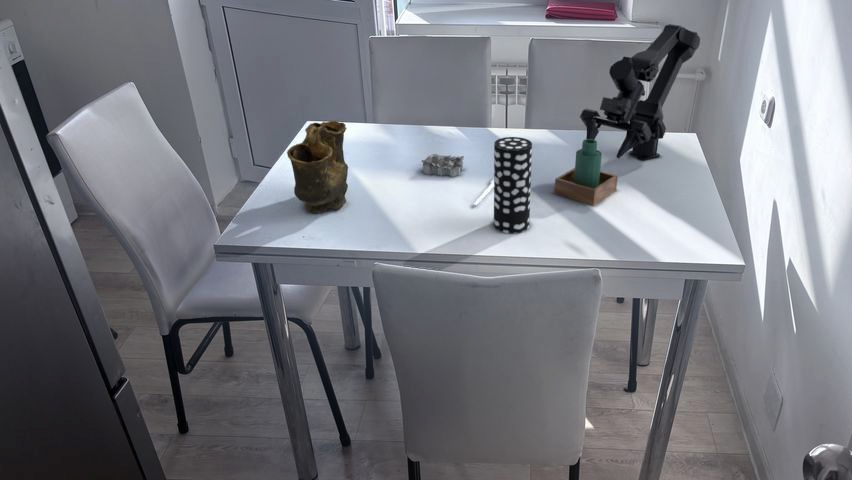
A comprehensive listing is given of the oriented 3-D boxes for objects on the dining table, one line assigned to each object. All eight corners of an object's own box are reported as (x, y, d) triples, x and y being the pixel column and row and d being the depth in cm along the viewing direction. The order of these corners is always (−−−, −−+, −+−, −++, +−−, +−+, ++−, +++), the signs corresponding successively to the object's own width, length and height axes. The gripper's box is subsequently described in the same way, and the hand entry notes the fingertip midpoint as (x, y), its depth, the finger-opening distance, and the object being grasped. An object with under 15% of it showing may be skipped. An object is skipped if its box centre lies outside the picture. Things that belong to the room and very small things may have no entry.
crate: (578, 179, 187) (579, 165, 185) (616, 190, 181) (617, 175, 179) (554, 193, 179) (555, 178, 177) (593, 205, 173) (594, 190, 171)
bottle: (595, 184, 183) (599, 136, 176) (600, 194, 177) (605, 145, 171) (571, 185, 182) (574, 137, 175) (576, 195, 177) (579, 146, 170)
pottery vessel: (317, 182, 183) (307, 108, 173) (358, 183, 183) (351, 109, 173) (288, 225, 162) (275, 143, 152) (335, 227, 162) (325, 145, 151)
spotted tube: (533, 220, 166) (536, 139, 155) (523, 235, 159) (525, 152, 149) (500, 215, 168) (501, 135, 158) (488, 230, 161) (488, 147, 151)
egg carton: (420, 174, 189) (419, 160, 187) (429, 164, 195) (428, 150, 193) (458, 178, 187) (457, 163, 184) (465, 167, 193) (465, 153, 191)
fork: (468, 206, 172) (468, 199, 171) (496, 176, 188) (496, 170, 187) (480, 208, 171) (480, 201, 170) (507, 178, 187) (508, 171, 186)
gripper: (585, 77, 180) (560, 130, 178) (651, 90, 170) (625, 147, 169) (598, 100, 189) (574, 150, 188) (662, 114, 180) (637, 167, 178)
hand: (601, 153), depth 180 cm, fingers open, 9 cm apart
